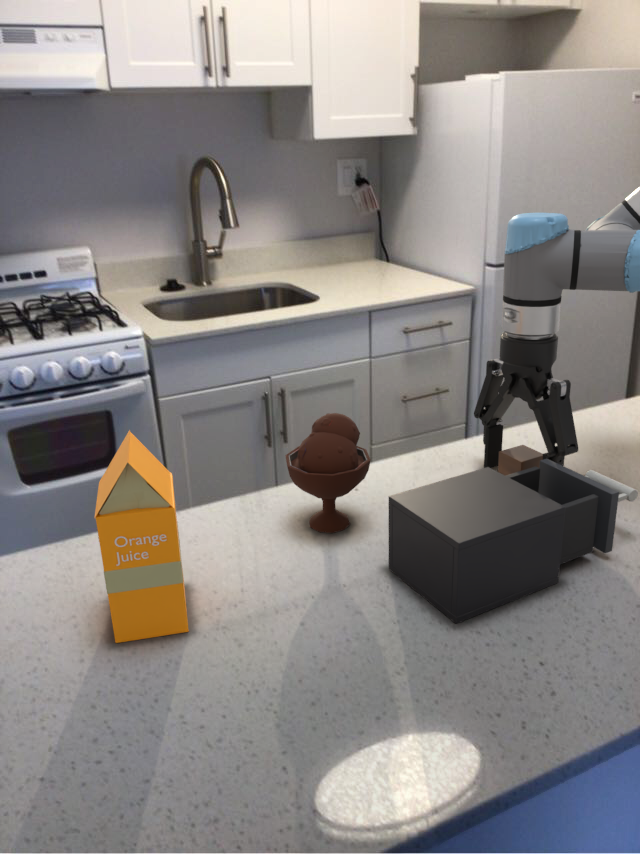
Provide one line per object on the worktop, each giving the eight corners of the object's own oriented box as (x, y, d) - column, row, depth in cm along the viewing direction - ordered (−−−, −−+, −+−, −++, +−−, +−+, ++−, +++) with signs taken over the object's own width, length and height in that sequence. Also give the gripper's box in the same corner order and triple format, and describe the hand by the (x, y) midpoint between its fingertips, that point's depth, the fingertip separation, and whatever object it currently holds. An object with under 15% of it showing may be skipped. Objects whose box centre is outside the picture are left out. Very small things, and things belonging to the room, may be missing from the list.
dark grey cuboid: (484, 535, 96) (488, 466, 92) (558, 582, 85) (565, 506, 82) (388, 568, 89) (388, 495, 86) (456, 624, 79) (459, 543, 75)
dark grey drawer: (577, 501, 102) (582, 447, 99) (648, 536, 92) (656, 478, 89) (460, 540, 93) (462, 483, 90) (526, 584, 84) (531, 522, 81)
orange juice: (185, 586, 87) (167, 424, 80) (190, 631, 79) (170, 456, 72) (116, 596, 86) (91, 432, 78) (113, 644, 78) (84, 466, 70)
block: (521, 472, 113) (522, 444, 111) (543, 484, 109) (545, 454, 107) (497, 480, 111) (498, 451, 109) (519, 491, 107) (521, 462, 105)
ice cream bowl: (297, 501, 106) (293, 401, 101) (376, 507, 104) (376, 404, 98) (278, 539, 97) (272, 430, 91) (365, 546, 94) (363, 434, 89)
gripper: (452, 320, 110) (448, 459, 118) (575, 356, 90) (560, 519, 98) (492, 313, 113) (485, 448, 121) (619, 347, 94) (601, 505, 102)
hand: (519, 480), depth 110 cm, fingers open, 11 cm apart
